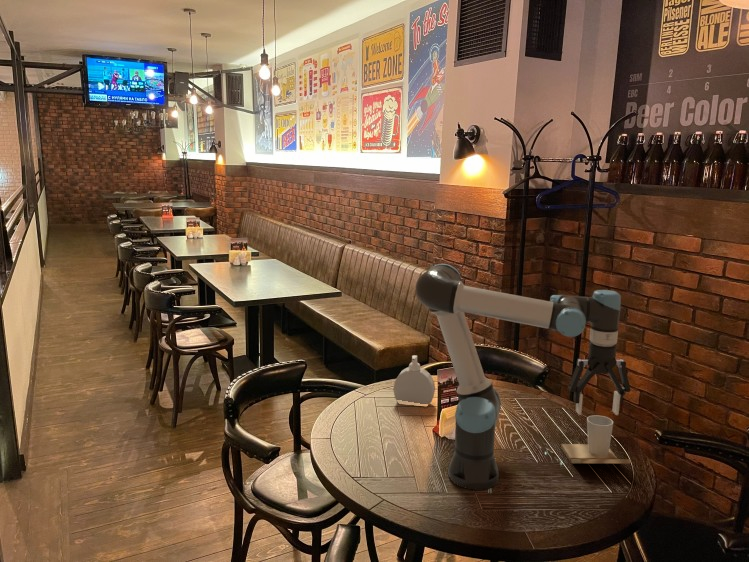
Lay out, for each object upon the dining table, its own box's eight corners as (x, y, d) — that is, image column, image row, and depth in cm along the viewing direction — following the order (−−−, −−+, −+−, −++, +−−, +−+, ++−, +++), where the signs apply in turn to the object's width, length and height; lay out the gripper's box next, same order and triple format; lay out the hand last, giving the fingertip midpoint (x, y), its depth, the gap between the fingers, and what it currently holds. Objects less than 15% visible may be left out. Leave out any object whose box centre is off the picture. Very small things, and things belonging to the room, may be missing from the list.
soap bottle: (392, 404, 222) (393, 356, 218) (395, 399, 227) (396, 352, 223) (432, 408, 218) (433, 360, 214) (435, 403, 223) (436, 355, 219)
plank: (580, 463, 169) (580, 459, 170) (571, 463, 178) (570, 459, 178) (630, 463, 169) (630, 459, 170) (618, 463, 178) (618, 459, 178)
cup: (613, 461, 178) (615, 426, 176) (587, 459, 180) (589, 424, 178) (608, 449, 186) (610, 416, 184) (583, 448, 188) (584, 414, 185)
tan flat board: (570, 461, 179) (570, 458, 178) (561, 447, 188) (561, 444, 188) (617, 462, 178) (617, 458, 178) (606, 447, 188) (606, 444, 187)
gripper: (568, 346, 160) (562, 418, 165) (648, 347, 160) (640, 418, 165) (559, 338, 168) (554, 407, 172) (636, 339, 168) (629, 407, 172)
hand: (596, 412), depth 169 cm, fingers open, 10 cm apart
